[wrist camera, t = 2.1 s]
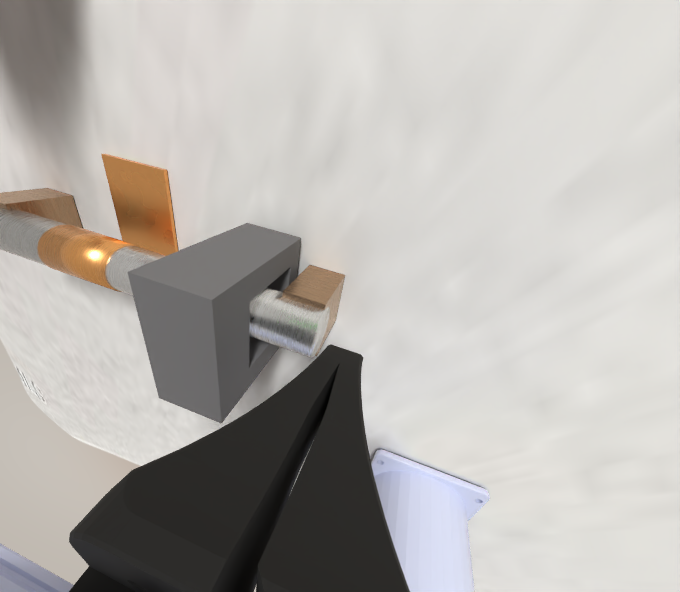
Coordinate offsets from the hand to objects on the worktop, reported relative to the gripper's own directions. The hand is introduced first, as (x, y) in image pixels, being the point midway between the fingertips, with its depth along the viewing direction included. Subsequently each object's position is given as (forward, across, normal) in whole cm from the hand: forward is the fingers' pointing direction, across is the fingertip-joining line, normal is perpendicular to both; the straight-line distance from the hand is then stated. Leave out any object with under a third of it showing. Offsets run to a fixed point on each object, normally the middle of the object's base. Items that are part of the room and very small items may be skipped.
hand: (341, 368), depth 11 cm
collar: (+5, +6, 0) cm, 7 cm away
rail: (+5, +12, 0) cm, 13 cm away
